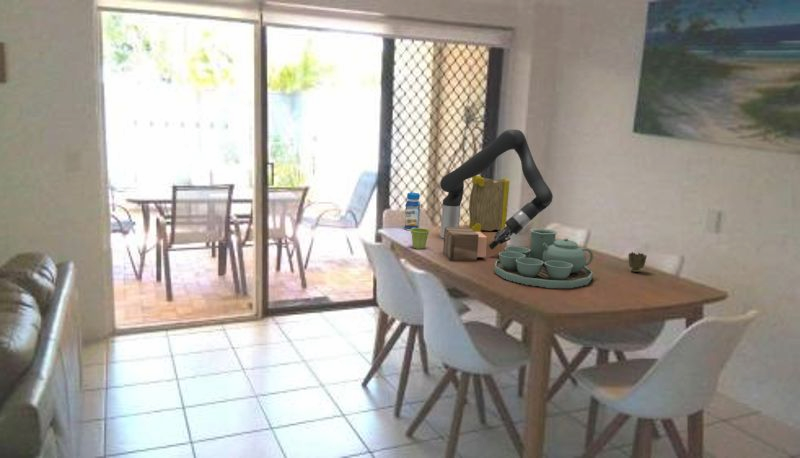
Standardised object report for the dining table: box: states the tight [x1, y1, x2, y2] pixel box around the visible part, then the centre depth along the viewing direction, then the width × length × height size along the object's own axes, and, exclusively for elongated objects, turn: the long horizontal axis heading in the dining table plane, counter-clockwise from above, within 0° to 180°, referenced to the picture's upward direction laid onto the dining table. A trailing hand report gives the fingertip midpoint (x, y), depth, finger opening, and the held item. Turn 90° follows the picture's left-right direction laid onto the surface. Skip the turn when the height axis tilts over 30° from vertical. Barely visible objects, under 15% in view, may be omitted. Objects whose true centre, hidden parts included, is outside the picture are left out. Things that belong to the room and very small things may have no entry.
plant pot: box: [409, 227, 431, 250], centre depth 296 cm, size 9×9×9 cm
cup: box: [628, 251, 648, 273], centre depth 268 cm, size 8×7×8 cm
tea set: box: [493, 228, 594, 289], centre depth 255 cm, size 40×40×16 cm
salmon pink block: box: [476, 231, 488, 258], centre depth 282 cm, size 12×10×9 cm
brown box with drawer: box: [442, 226, 479, 262], centre depth 281 cm, size 16×12×12 cm
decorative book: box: [468, 175, 510, 233], centre depth 344 cm, size 20×11×30 cm, turn 93°
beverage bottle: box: [403, 192, 421, 231], centre depth 338 cm, size 8×8×20 cm
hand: (490, 247), depth 283 cm, fingers closed
